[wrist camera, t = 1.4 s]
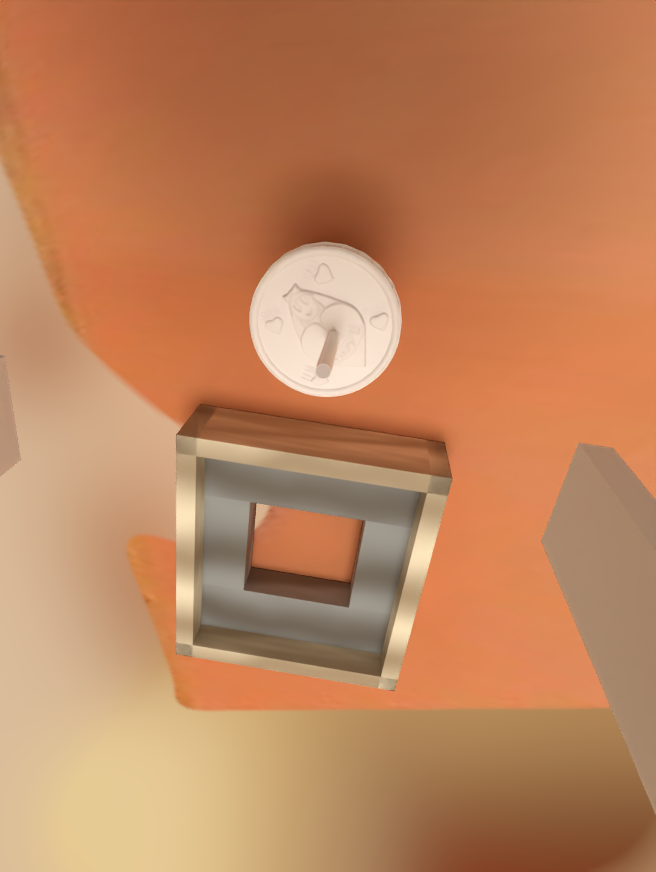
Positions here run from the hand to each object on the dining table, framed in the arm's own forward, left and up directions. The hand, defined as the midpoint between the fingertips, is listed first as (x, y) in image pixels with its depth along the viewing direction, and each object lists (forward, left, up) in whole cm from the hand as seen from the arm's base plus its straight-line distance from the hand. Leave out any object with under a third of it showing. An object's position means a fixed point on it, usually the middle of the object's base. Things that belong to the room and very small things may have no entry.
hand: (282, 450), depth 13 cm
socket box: (+18, 0, -20) cm, 27 cm away
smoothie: (0, 0, -21) cm, 21 cm away
